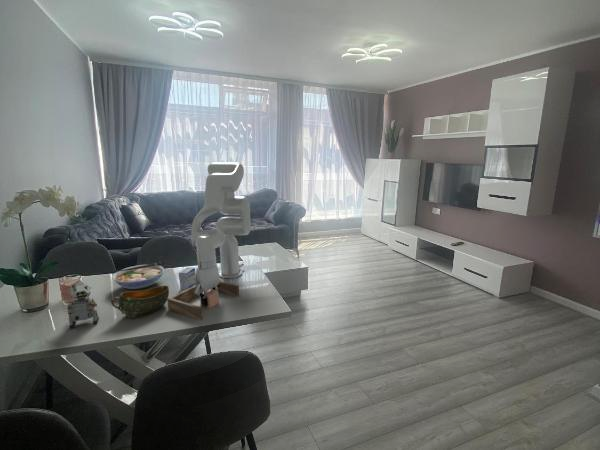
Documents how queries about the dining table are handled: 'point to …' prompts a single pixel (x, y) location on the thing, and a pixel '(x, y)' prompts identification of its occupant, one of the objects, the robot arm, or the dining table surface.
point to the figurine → (81, 305)
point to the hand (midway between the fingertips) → (209, 302)
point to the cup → (142, 301)
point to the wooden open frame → (180, 299)
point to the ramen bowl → (138, 276)
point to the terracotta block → (211, 298)
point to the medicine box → (187, 278)
